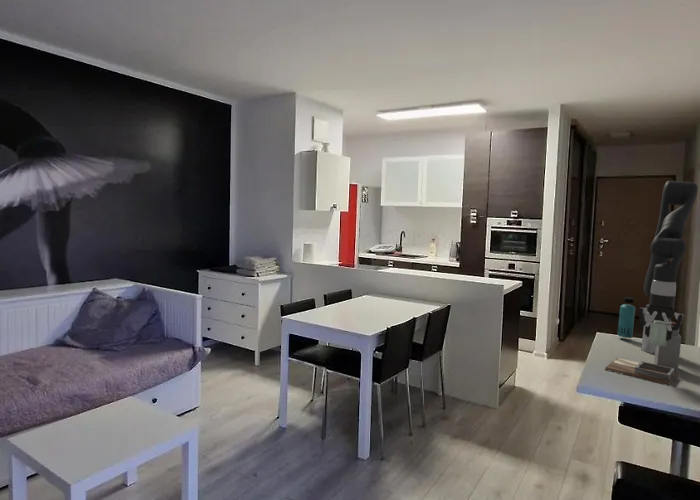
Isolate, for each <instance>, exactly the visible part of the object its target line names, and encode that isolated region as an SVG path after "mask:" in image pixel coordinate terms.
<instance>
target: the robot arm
mask: <svg viewBox="0 0 700 500" xmlns="http://www.w3.org/2000/svg"><path fill="white" fill-rule="evenodd" d="M698 190H699V188H698V185H697V183H695V182H691V181H681V180H667V181H666V182H665V184H664V186H663V189H662V194H661V195H662V196H661V201H660V209H659V217H658V223H657V226H656V229H655V234H654V239H652V242H651V244H650V245H649V246H650V248H649V250H650V253H651V256H650V261H649V266H648V269H647V271H646V275H645V279H644V283H643V292H644V293H643V294H645V296H647V297H649V303H648V304H646V305H645V307H639V308H638V318H639V324H640V325H643V329H642V337H641V338H642V339H641V350H642V351H643V352H647V353H650V354H654V355H655V350H656V345H652V344H650V343H648V340H649V331H650V324H651V322H652V321H662V322H665V324H666V325H667V328H668V331H667V337H666V341H669V340H671V338H672V333H673V331H674V330H678V329H679V330H680V328H681V325H682V322H683V320H684V317H685V314H684V313H678V312H676V311H675V301H676V292H677V278H678V277H677V276H678V270H679V267H680V263H681V262H682V260H683V257H684V256H685V253H686V250H687V243H686V241H684V239H682V238H683V237H684V232H685V228H686V223H687V221H688V218H689V216H690V214H691V213H692V209H693V207H694V204H695V202H696V199H697V195H698ZM671 205H675V206H679V207H678V208H676V209H674V210H673V211H672V209H671ZM669 261H670V262H669ZM673 316H674V317H675V319H676V321H675V323H676V325H675V326H674V327H673V326H672V323H671V322H672V320H671V318H672V317H673Z"/></svg>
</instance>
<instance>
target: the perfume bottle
mask: <svg viewBox="0 0 700 500" xmlns="http://www.w3.org/2000/svg"><path fill="white" fill-rule="evenodd" d="M671 323H672V326H673V327H674V326H675V325H676V321H671ZM681 345H682V335H680V328H679V329H678V330H674V331H673V333H672V338H671V340H669V341H667V344H666V346H657V345H656V350H655V354H654V360H653V364H656V365H660V366H665V367H669V368H674V369H675V371H677V373H678V371H679V363H680V355H681V353H680V352H681V347H682V346H681Z"/></svg>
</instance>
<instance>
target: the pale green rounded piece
mask: <svg viewBox="0 0 700 500" xmlns="http://www.w3.org/2000/svg"><path fill="white" fill-rule="evenodd" d="M667 331H668V328H667V325H666V324H665V322H662V321H652V322H651V324H650V331H649V340H648V343H650V344H652V345H657V346H666V344H667V341H666V337H667Z"/></svg>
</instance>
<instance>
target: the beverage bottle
mask: <svg viewBox="0 0 700 500" xmlns="http://www.w3.org/2000/svg"><path fill="white" fill-rule="evenodd" d="M634 300H635V299H634V298H633V297H624V298H623V304H622V305H620V307H619V313H618V314H619V315H618V316H619V317H618V327H617V336H618V337H622V338H625V339H626V338H627V339H632V338H633V335H634V327H635V325H634V322H635V317H636V316H635V314H636V306H634V305H633V304H634Z"/></svg>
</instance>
